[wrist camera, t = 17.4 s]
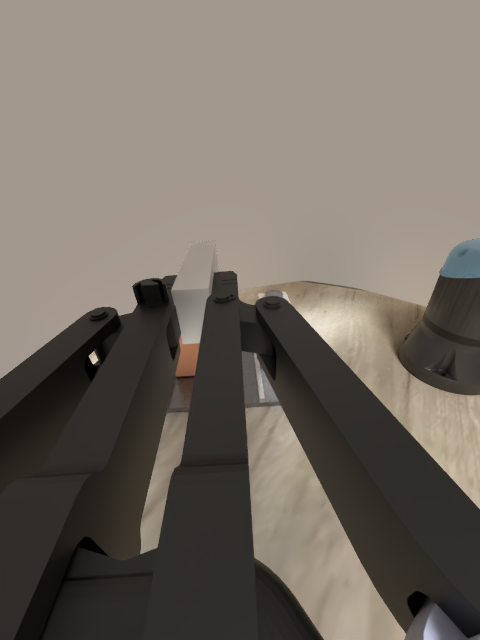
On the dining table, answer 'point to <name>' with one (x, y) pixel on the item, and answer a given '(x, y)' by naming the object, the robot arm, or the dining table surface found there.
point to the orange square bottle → (187, 359)
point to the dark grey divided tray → (253, 379)
